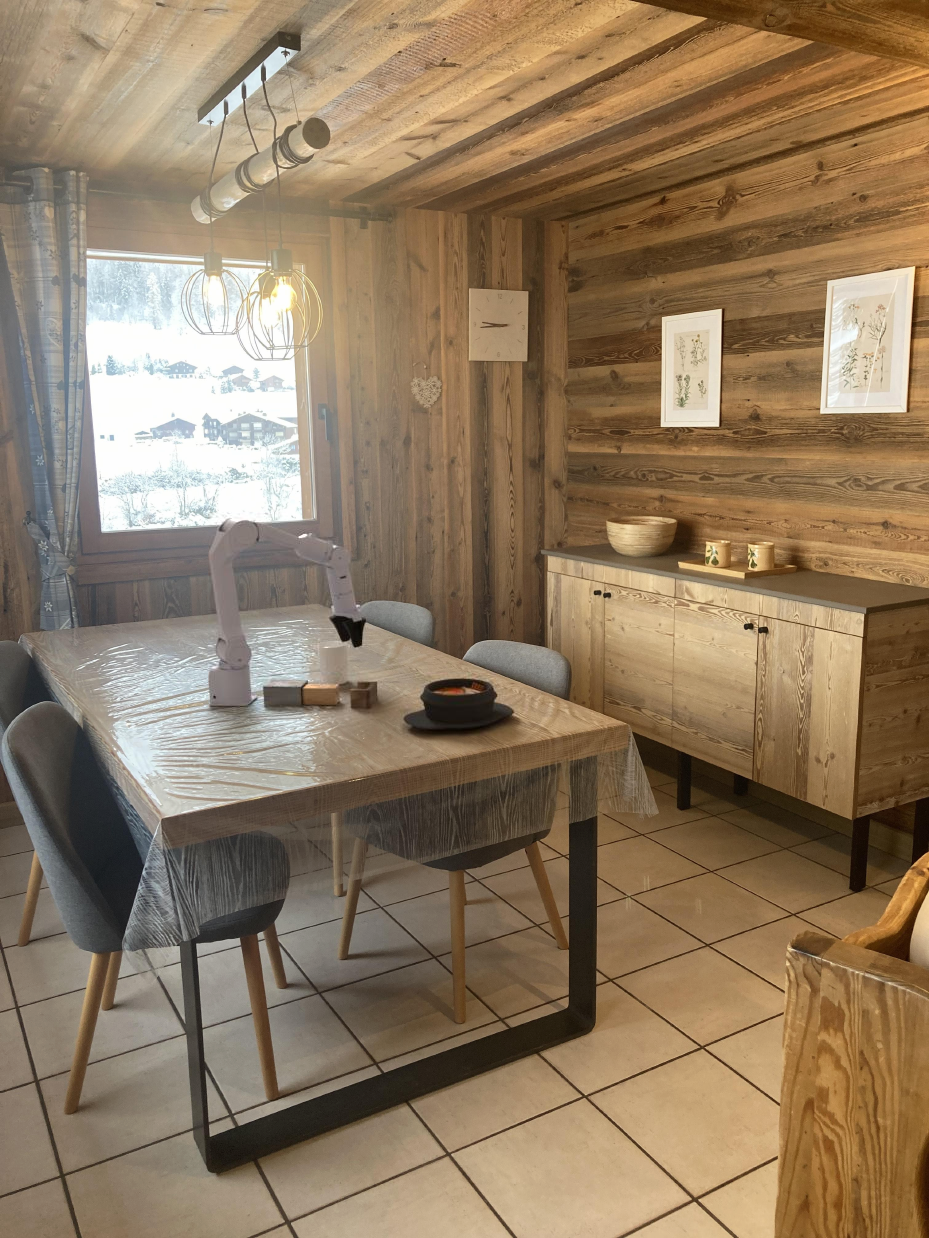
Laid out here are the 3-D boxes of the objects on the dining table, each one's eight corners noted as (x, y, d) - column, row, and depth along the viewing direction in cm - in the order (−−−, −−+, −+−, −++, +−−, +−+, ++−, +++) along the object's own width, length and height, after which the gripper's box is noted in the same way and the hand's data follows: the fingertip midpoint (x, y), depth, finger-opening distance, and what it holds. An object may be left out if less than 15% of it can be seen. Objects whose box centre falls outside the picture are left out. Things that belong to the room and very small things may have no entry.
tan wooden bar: (270, 703, 233) (268, 687, 232) (275, 699, 236) (274, 683, 236) (335, 704, 231) (334, 688, 230) (339, 700, 234) (339, 684, 234)
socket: (351, 708, 228) (350, 690, 227) (358, 699, 236) (358, 681, 235) (370, 708, 228) (369, 690, 227) (377, 699, 235) (376, 681, 234)
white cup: (321, 687, 248) (319, 648, 246) (317, 679, 256) (315, 642, 254) (352, 684, 250) (350, 646, 248) (347, 677, 258) (345, 639, 256)
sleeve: (264, 706, 231) (263, 686, 231) (273, 698, 238) (271, 679, 237) (301, 706, 230) (300, 687, 229) (308, 699, 237) (307, 679, 236)
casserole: (489, 705, 229) (489, 670, 227) (530, 725, 212) (529, 688, 211) (390, 721, 218) (389, 684, 216) (424, 743, 201) (423, 704, 200)
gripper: (368, 592, 241) (378, 644, 244) (345, 584, 253) (354, 634, 256) (342, 599, 237) (352, 652, 241) (320, 591, 250) (330, 641, 253)
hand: (351, 643), depth 248 cm, fingers open, 7 cm apart
